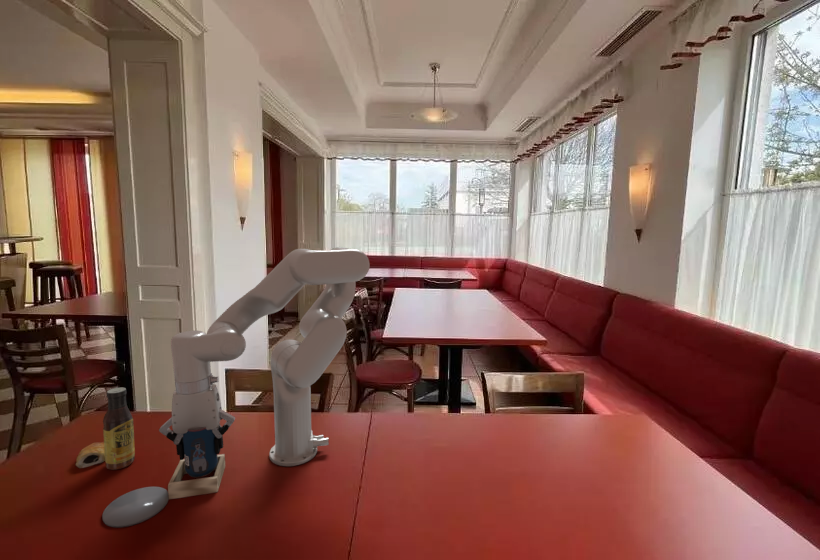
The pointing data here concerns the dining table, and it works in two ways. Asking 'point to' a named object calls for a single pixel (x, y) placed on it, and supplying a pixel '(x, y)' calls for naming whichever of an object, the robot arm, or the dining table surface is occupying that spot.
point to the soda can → (199, 452)
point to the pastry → (91, 455)
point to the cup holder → (195, 481)
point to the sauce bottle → (118, 431)
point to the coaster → (135, 507)
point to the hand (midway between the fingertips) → (201, 453)
